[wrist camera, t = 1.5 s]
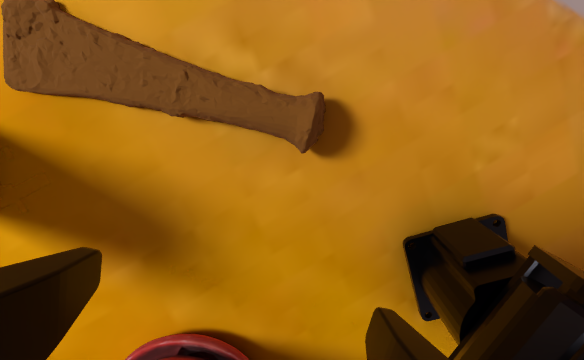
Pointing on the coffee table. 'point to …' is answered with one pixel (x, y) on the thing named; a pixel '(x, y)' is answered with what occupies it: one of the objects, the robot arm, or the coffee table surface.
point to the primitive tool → (140, 75)
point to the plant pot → (186, 349)
